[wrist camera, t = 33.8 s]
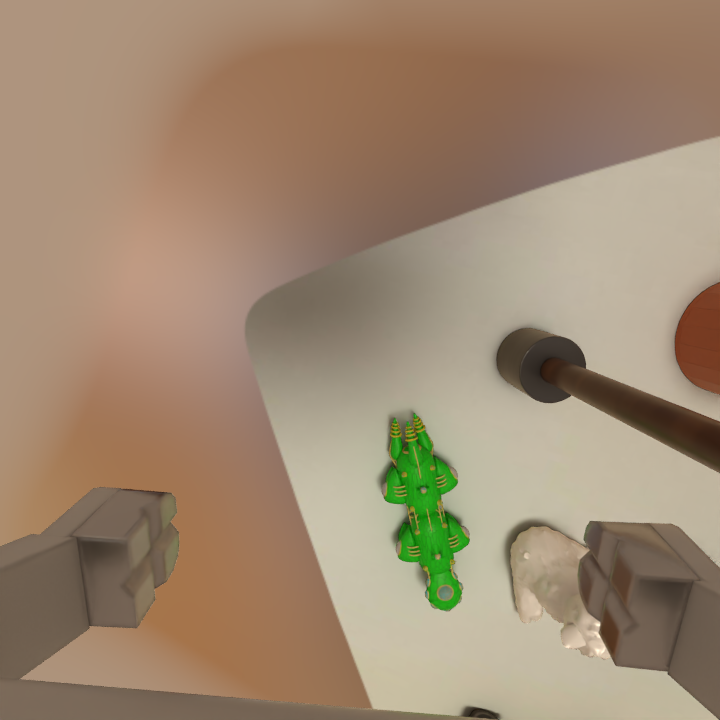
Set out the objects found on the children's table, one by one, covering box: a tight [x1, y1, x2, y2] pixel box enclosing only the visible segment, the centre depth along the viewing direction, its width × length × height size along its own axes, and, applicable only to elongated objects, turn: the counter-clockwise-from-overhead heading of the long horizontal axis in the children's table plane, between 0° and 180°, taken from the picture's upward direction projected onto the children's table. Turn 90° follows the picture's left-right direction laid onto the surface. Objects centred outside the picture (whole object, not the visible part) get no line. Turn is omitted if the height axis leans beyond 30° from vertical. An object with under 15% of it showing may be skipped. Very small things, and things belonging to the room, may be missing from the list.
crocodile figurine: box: [382, 413, 470, 611], centre depth 40 cm, size 7×18×4 cm, turn 13°
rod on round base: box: [497, 328, 720, 473], centre depth 29 cm, size 5×5×24 cm
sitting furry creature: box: [510, 526, 611, 659], centre depth 38 cm, size 10×9×12 cm
